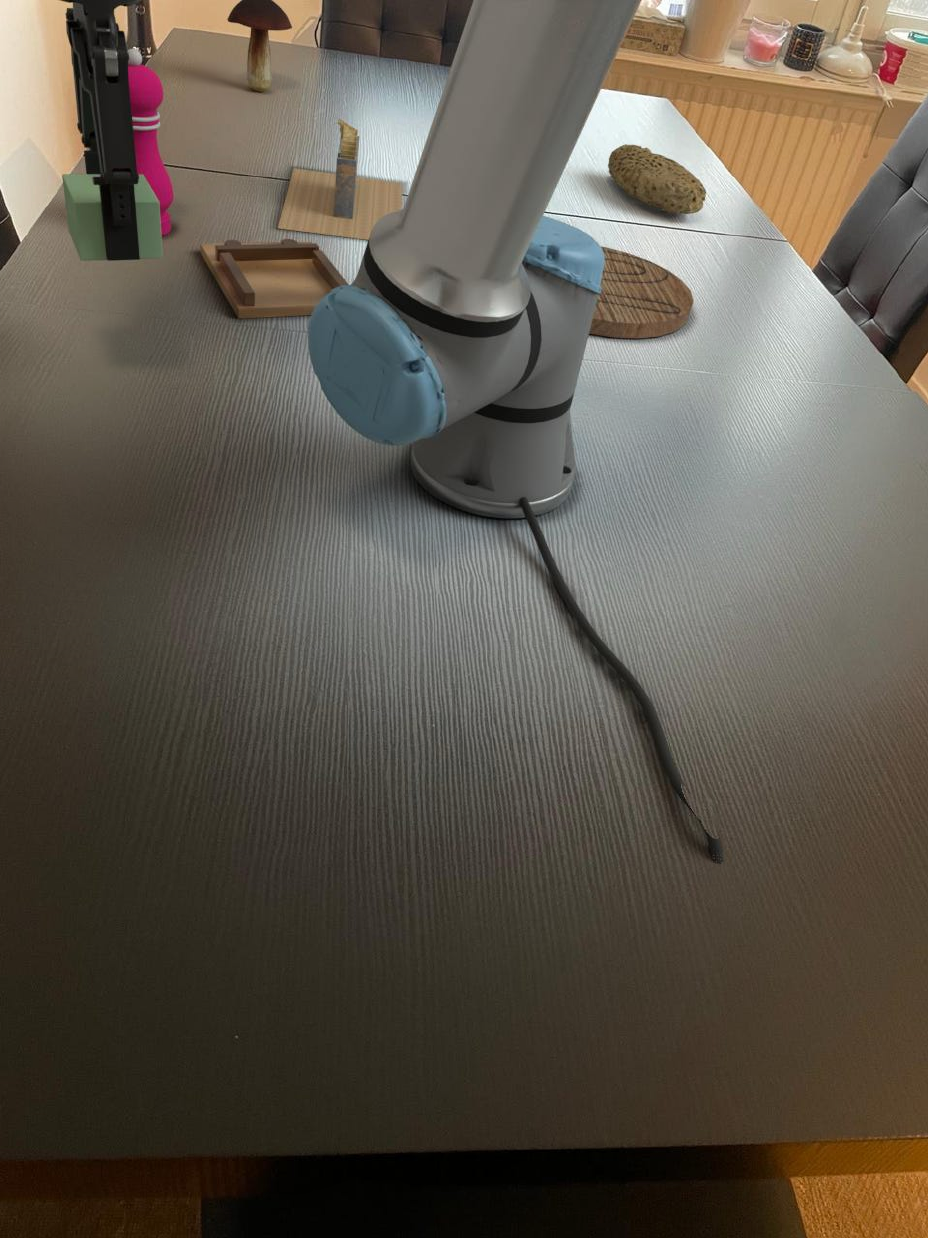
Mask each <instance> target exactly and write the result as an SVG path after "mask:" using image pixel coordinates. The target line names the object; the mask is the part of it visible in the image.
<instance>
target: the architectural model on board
mask: <svg viewBox="0 0 928 1238" xmlns="http://www.w3.org/2000/svg"><path fill="white" fill-rule="evenodd" d="M337 125H338V126H339V132H340V137H339V146H338V151H337V157H336V167H335V173H331V172H324V171H315V170H308V169H301V168H295V167H294V168H293V169H292V173H291V177H290V180H289V185H288V188H287V192H286V196H285V199H284V203H283V207H282V211H281V214H280V216H279V217H280V218H279V222H278V225H277V229H280V230H287V231H296V232H302V233H303V232H304V233H312V234H319V235H328V236H333V237H343V238H351V239H356V240H357V239H358V240H366V241H368V240H369V237H370V234H371V231H372V229H373V227H374V225H375V224H376V222H377V221H378V220H379V219H380V218H382V217H383V216H385V215H387V214H389V213H392V212H395V211H398V210H401V209H403V183H402V182H397V181H389V180H383V179H375V178H369V177H360V176H357V175H358V163H359V151H360V150H359V149H360V148H359V147H360V135H358V133H359V132H358V129H357V128H355V127H353V126H351V125H349V124H348V123H347V122H345V121H344V120H342V119H341V118H338V121H337Z"/></svg>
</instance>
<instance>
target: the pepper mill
mask: <svg viewBox="0 0 928 1238" xmlns="http://www.w3.org/2000/svg"><path fill="white" fill-rule="evenodd" d="M127 52H128V53H129V60H128V73H129V89H130V100H131V111H132V121H133V132H134V142H135V153H136V164H137V173H138V174H143V175H144V177H145V178H146V180H147V182H148V184H149V185H150V187H151V189H152V190H153V192H154V194H155V195H156V197H157V199H158V200H159V203H160V219H161V236H162V237H163V236H166V235H168V234H170V232H171V230H172V222H171V221H172V220H171V214H170V213H169V212H168V209H169V208H170V207H171V205H172V204H173V202H174V188H173V184H172V181H171V177H170V175H169V173H168V171H167V169H166V167H165V166H166V165H165V164H164V162H163V159H162V157H161V154H160V150H159V144H158V143H159V142H158V129H159V128H160V127H161V121H160V118H161V114H160V112H158V111H157V110H158V108H159V107H160V106H161V104H162V103H163V100H164V88H163V84H162V81H161V79H160V77H159V76H158V75H157V73H156V72H155V71H154V70H153V69H151V68H150V67H149V66H146V65H144V64H142V62H143V56H142V54H141V52H140V51H139V50H138V49H137V48H129V49H127Z"/></svg>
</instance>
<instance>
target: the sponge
mask: <svg viewBox="0 0 928 1238" xmlns="http://www.w3.org/2000/svg"><path fill="white" fill-rule="evenodd" d="M607 168H608V174H609V175H610V178H611V179H612V180H613V181H614V182H615V183H616V184H618V185H619V187H620V188H621V189H622V190H623V191H625V192H626V193H627V194H628V195H629V196H631V197H632V198H634V199H635V200H637V201H640V202H641V203H643V204H646V205H648V206H650V207H652V208H656V209H659V210H662V211H664V212H668V213H672V214H682V215H690V214H695V213H699V212H700V211H701V210H702V209H703V208H704V202H705V201H706V196H707V189H706V188H705V187H704V185H703V183H702V182H701V181H700V179H699V178H697V177H696V176H695V175H694V174H693V173H692V172H690V171H689V170H688V169H686V168H685V166H683V165H681V164H680V163H678V162H677V161H676V160H674V159H672V158H669V157H667V156H665V155H663V154H658V153H653V152H652V151H651V149H649V147H642V145H637V144H628V143H627V144H622V145H621V146H618V147H617V148H614V150H612V151H611V153H610V155H609V157H608V163H607Z"/></svg>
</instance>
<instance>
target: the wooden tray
mask: <svg viewBox="0 0 928 1238" xmlns="http://www.w3.org/2000/svg"><path fill="white" fill-rule="evenodd" d="M199 250H200V251H199V252H200V255H201V256H202V258H203V261H204V262H205V264H206V265H207V267H208V268H209V269H208V270H209V271H210V272H211V274H212V276H213V277H214V279H215V281H216V282H217V284H218V286H219V288H220V289H221V291H222V293H223V295H224V296H225V298H226V299H227V301H228V304H229V305H230V306H231V308H232V310H233V312H234V313H235V315H236V317H237V319H239V320H240V319H259V318H261V319H262V318H275V317H276V318H277V317H278V318H283V317H298V316H299V317H301V316H311V315H312V312H313V310H314V308H315V306H316V305H317V303H318V302H319V301H320V300H321V299H322V298H323V297H324V296H325V295H327V294H329V293H330V291H331V290H332V289H334V288H336V287H339V286H341V285H349V283H348V282H347V280H346V279H345V278H344V277H343V275H342V274H341V273H340V272H339V270H338V269H337V268H336V267H335V265H334V264H333V262H332V261H331V260H330V259H329V258H328V256H327V255H326V254H325V252H324V251H323V250H320V246H319V244H318V243H316V242H314V243H313V242H312V241H297V240H295V239H293V238H283V239H282V240H280V241H268V242H267V241H266V242H241V241H239V240H236V239H226V240H224V242H221V243H220V242H218V243H217V242H215V243H214V242H213V243H212V242H211V243H200V244H199Z"/></svg>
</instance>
